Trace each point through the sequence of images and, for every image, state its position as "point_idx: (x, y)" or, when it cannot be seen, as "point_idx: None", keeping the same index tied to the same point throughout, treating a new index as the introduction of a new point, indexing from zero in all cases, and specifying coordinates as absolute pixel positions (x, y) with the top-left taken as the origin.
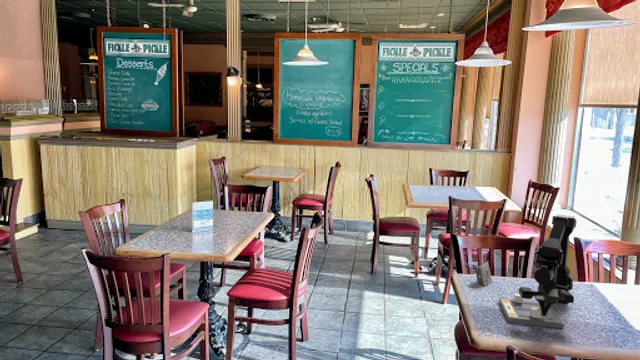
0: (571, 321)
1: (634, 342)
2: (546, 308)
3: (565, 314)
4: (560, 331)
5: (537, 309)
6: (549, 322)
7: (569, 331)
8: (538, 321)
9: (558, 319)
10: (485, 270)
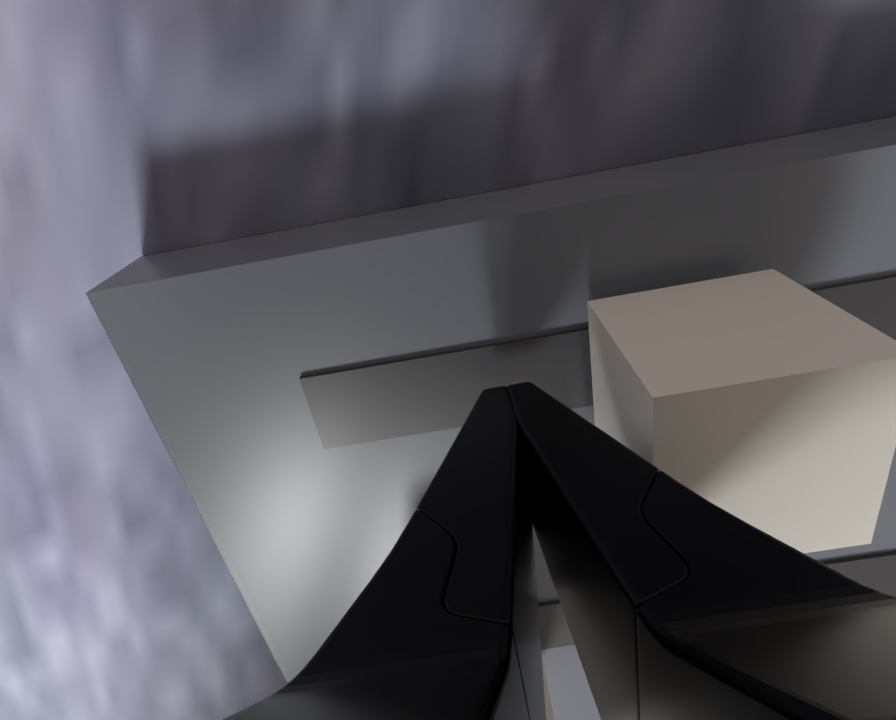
0: (76, 564)
1: None
2: (500, 508)
3: (181, 707)
4: (172, 64)
5: (734, 459)
6: (389, 230)
7: (11, 156)
8: (627, 190)
9: (215, 443)
10: None
